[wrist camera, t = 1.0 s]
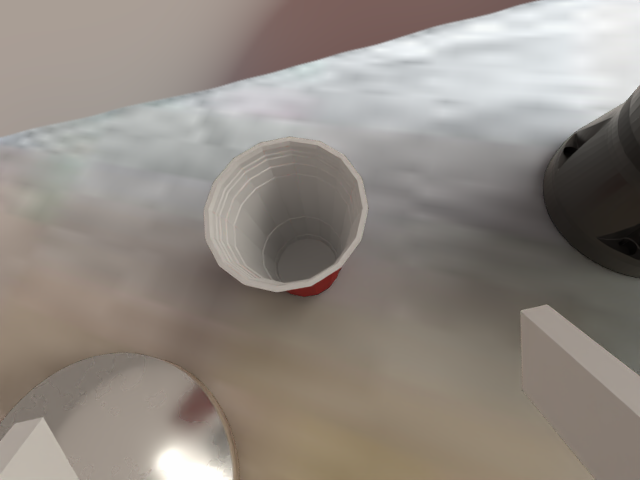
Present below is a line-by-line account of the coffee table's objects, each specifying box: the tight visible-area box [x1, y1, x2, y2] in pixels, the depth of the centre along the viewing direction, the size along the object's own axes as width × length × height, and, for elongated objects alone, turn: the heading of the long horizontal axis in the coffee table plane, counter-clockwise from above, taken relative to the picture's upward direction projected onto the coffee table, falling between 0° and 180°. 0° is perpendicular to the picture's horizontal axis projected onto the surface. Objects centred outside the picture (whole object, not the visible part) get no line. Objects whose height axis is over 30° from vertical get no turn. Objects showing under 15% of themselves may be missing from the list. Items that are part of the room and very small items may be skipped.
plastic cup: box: [204, 137, 369, 297], centre depth 31 cm, size 11×11×12 cm
